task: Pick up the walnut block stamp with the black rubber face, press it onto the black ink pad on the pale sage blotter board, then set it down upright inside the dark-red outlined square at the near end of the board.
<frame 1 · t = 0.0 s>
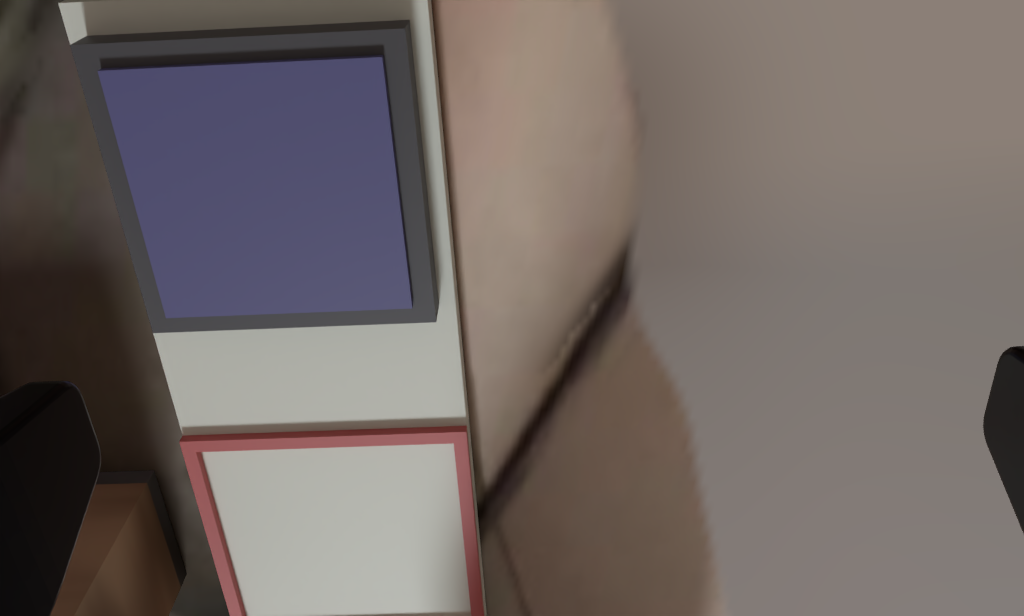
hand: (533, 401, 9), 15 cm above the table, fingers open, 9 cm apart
blotter board: (322, 378, 26), on the table
stamp: (103, 526, 29), on the table
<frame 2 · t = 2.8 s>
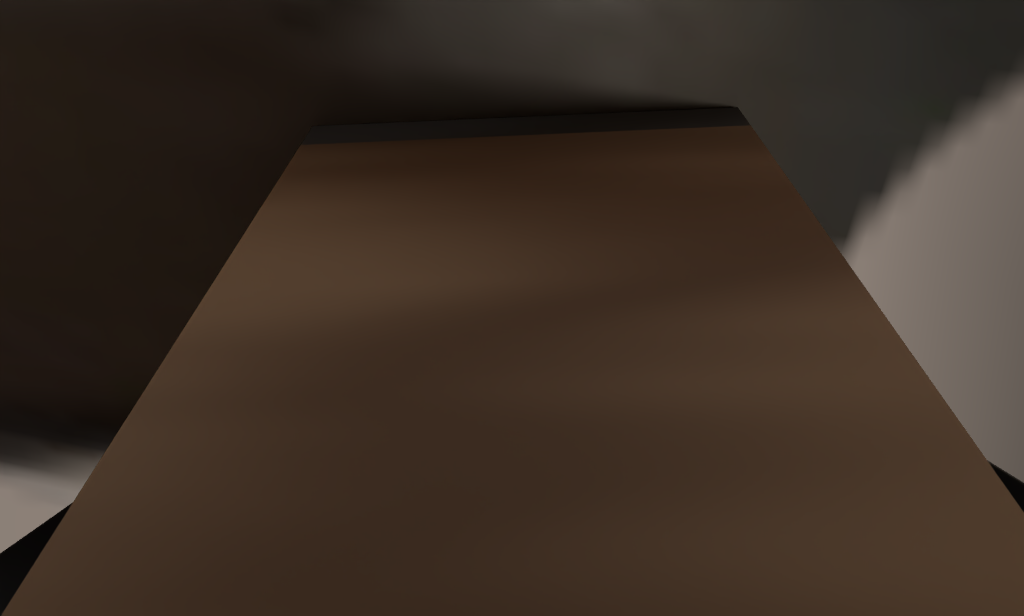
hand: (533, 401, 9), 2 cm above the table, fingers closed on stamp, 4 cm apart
stamp: (531, 302, 11), on the table, touching gripper
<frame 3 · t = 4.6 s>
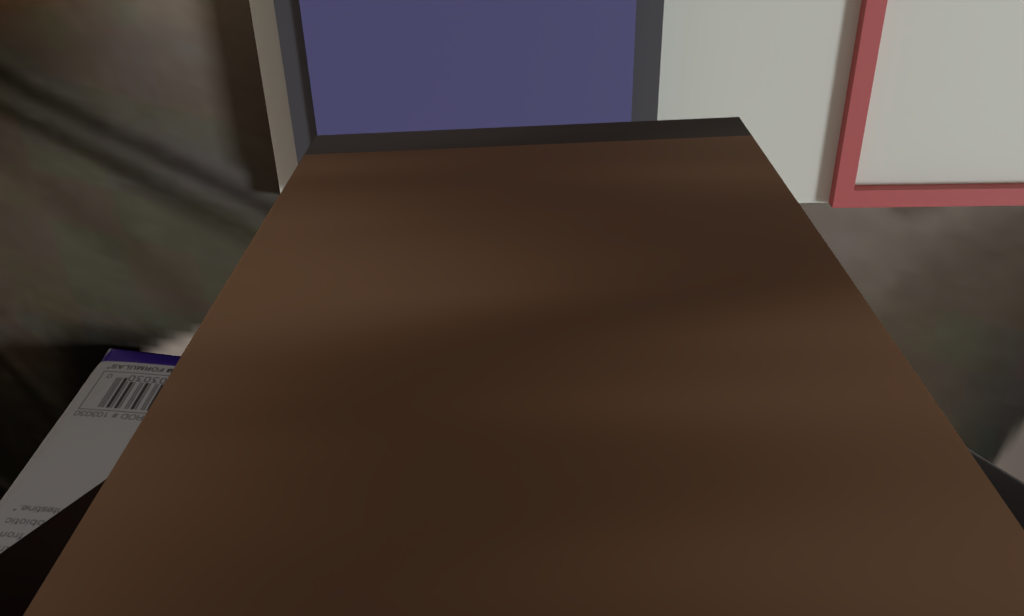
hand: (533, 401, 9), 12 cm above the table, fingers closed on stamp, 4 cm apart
blotter board: (785, 1, 19), on the table
supplement box: (225, 440, 25), on the table
stamp: (533, 310, 11), point 10 cm above the table, touching gripper
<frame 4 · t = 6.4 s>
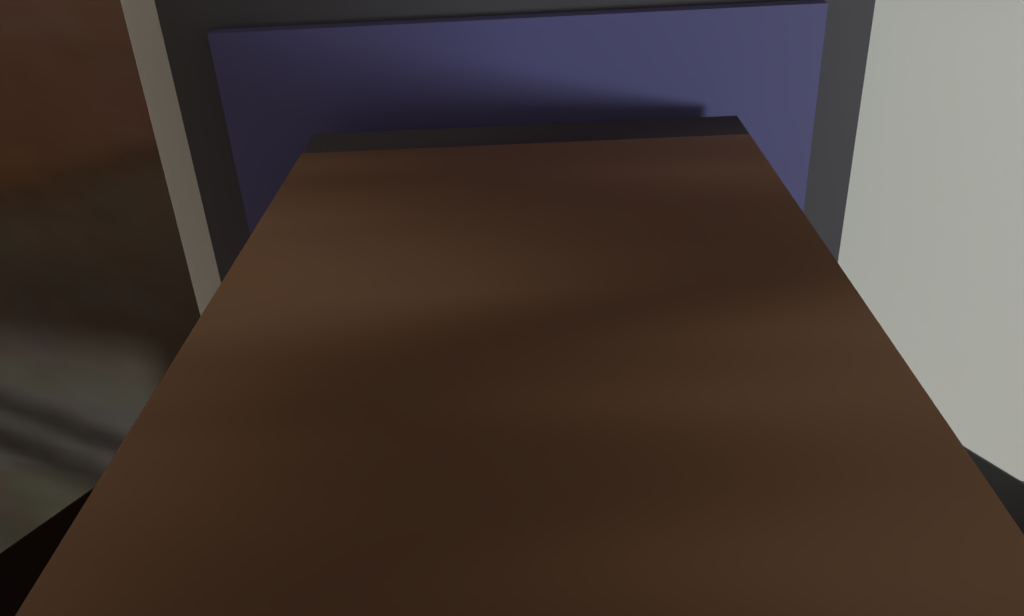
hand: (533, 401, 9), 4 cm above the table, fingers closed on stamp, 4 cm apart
blotter board: (1001, 206, 12), on the table
stamp: (531, 309, 11), point 2 cm above the table, touching gripper
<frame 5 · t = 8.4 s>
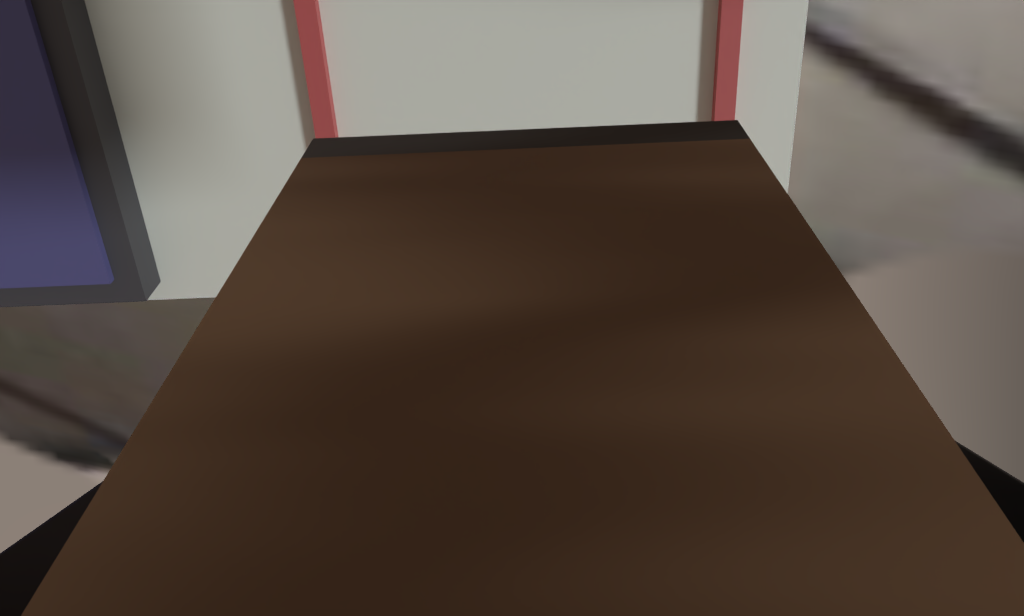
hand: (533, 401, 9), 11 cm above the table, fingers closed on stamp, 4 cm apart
blotter board: (260, 100, 19), on the table
stamp: (531, 313, 11), point 9 cm above the table, touching gripper
when the fingers open (4 cm above the table, at t = 10.0 s): stamp stays where it is, resting on blotter board.
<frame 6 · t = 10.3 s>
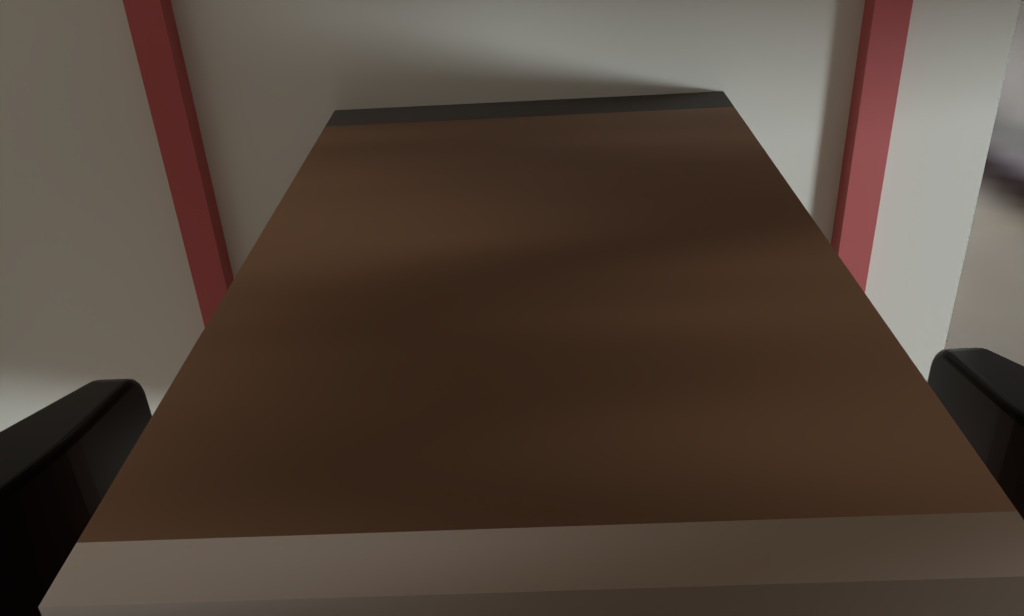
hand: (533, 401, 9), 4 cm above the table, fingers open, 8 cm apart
blotter board: (126, 255, 12), on the table
stamp: (535, 273, 11), point 1 cm above the table, touching blotter board
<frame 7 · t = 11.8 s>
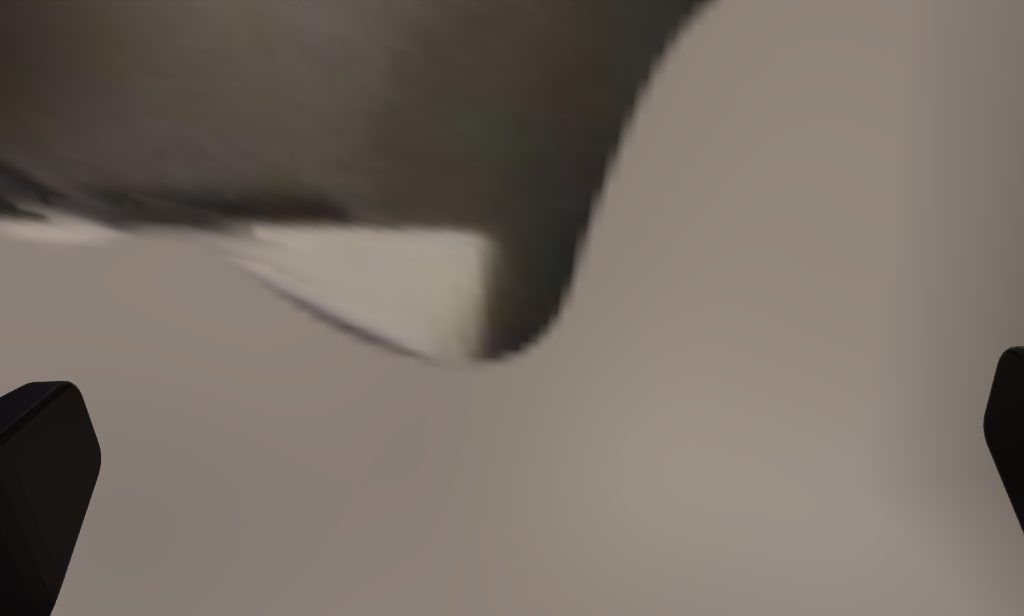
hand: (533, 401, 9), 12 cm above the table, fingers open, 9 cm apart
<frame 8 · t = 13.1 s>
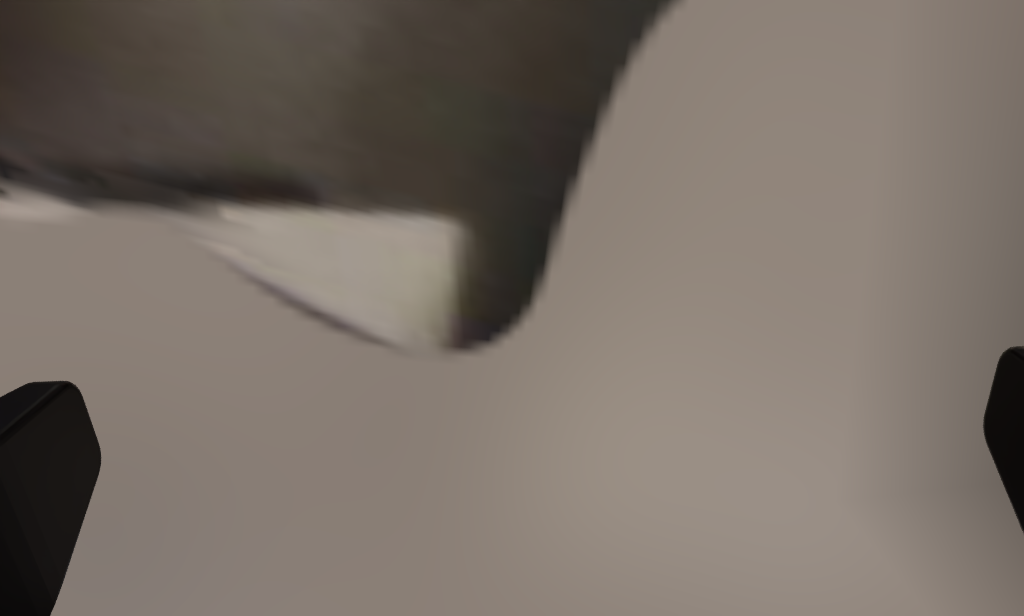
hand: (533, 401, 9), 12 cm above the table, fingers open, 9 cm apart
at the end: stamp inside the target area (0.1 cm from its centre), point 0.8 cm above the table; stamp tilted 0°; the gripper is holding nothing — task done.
